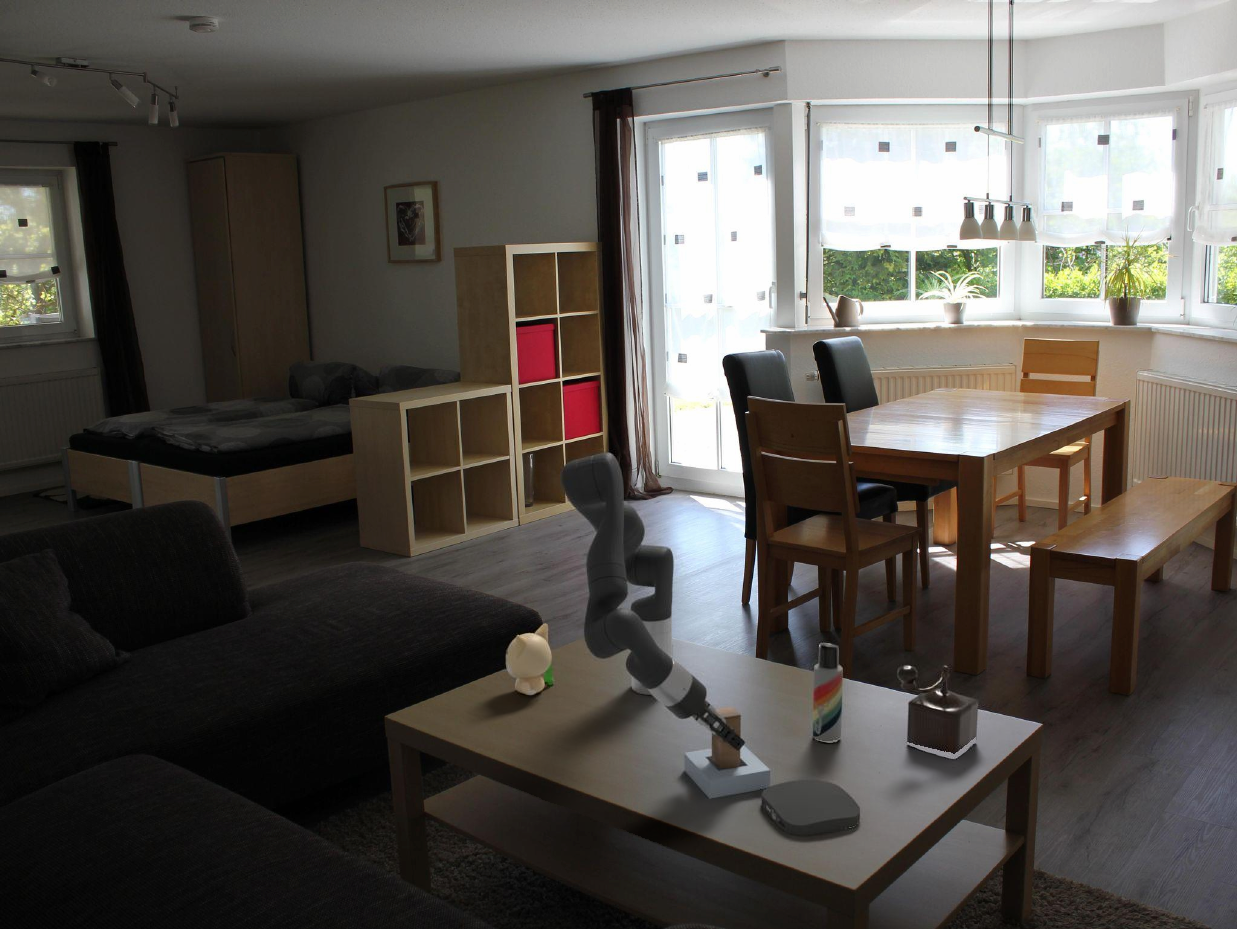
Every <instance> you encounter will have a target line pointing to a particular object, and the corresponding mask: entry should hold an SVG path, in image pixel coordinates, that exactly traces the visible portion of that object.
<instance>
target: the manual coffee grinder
mask: <svg viewBox="0 0 1237 929" xmlns="http://www.w3.org/2000/svg"><path fill="white" fill-rule="evenodd" d="M941 670H942V672H941V676H940V678H939V679H938V680H937V681H936V682H935V683H934V684H933V685H932V686H927V687H926V688H918V687H917V684H916V682H915V680H916V679H917V678H918V670H917V668H916V667H915V666H912V665H910V664H904V665H902V666H899V667H898V669H897V675H896V676H897V679H899V680H900V682H901V686H900V687H901V689H902V690H904V691H908V692H910V691H911V692H914V693H918V695H917V696H916V697H914V698H912V699H911V700H909V701H908V705H907V706H908V707H907V708H908V710H907V712H908V714H907V732H906V733H907V736H906V738H907V740H906V743H907V742H909V743H913V744H915V745H920V746H924V747H928V748H932V749H937V750H940V751H944V752H945V751H946V752H951V753H953V754H955V753H956V752H958V751H959V750H960V749H962V748H963V747H964V746H965V745H967V744H968V743H969V742H970V741H971V740H973V739H974V738H975V737H976V738H977V733H978V732H977V728H978V717H979V715H978V714H979V712H978V711H979V700H978V699H975V698H973V697H969V696H966V695H961V694H958V693H955V692H952V691H951V690H948V678H950V674H949V671H950V668H949V665H948V666H947V665H943V666H942V668H941ZM939 687H941V688H939Z"/></svg>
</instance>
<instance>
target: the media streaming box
mask: <svg viewBox="0 0 1237 929" xmlns="http://www.w3.org/2000/svg"><path fill="white" fill-rule="evenodd" d="M761 807H762V809H763V810H764V811H765V812H766V813H767V815H768V816H769V817H770V818H771V820H772V821H774V822H775V824H776V825H777V826H778V827H779V828H780V829H781V830H782V831H783V830H784V832H785V833H787V834H790V835H793V836H799V837H806V836H808V835H809V836H814V835H815V834H816V835H820V833H822V834H826V833H825V832H828V833H832V831H834V832H837V831H836V830H839V831H842V830H841V829H844V830H846V829H845V828H849V827H853V826H855V825H856V824H857V823H858V822H859V820H861V819H860V818H861V809H860V808H861V807H860V806H859V804H858V803H857V802H856V800H855V799H854V798H853V797H852V796H851V795H850V794H849V793H848V792H847V791H846V790H845V789H843V787H841V786H840V785H837V784H836V783H832V782H830V781H827V780H821V779H798V780H797V779H796V780H789V781H785V782H780V783H778V784H773V785H770V787H768V788H766V789H763V791H762V792H761ZM859 823H860V822H859ZM855 827H856V826H855ZM853 828H854V827H853ZM849 829H850V828H849ZM816 835H815V836H816ZM809 836H808V837H809Z"/></svg>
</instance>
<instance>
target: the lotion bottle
mask: <svg viewBox="0 0 1237 929" xmlns="http://www.w3.org/2000/svg"><path fill="white" fill-rule="evenodd" d="M839 648H840V647H839V645H837V644H833V643H829V642H828V643H827V642H821V643H819V645H818V663H816V664H815V665H814V668H813V691H812V694H813V697H812V699H813V700H812V701H813V703H812V737H815V738H816V739H818V740H822V741H833V740H838V739H839V738H840V737H841V738H842V719H843V717H842V716H843V682H844V681H843V679H844V677H843V674H844V672H843V671H844V669H843V667H842V666H841V665H840V664H839V656H840V655H839V652H840V651H839Z"/></svg>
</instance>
